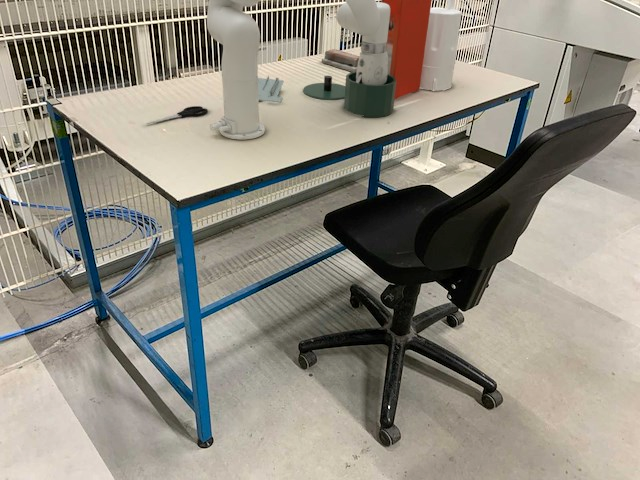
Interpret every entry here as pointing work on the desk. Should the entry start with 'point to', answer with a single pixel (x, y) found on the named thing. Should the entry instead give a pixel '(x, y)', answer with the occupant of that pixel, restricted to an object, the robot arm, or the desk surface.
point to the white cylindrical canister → (440, 47)
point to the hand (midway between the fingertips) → (368, 105)
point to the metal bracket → (269, 89)
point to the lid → (325, 90)
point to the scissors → (187, 113)
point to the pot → (369, 97)
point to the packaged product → (341, 60)
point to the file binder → (407, 42)
